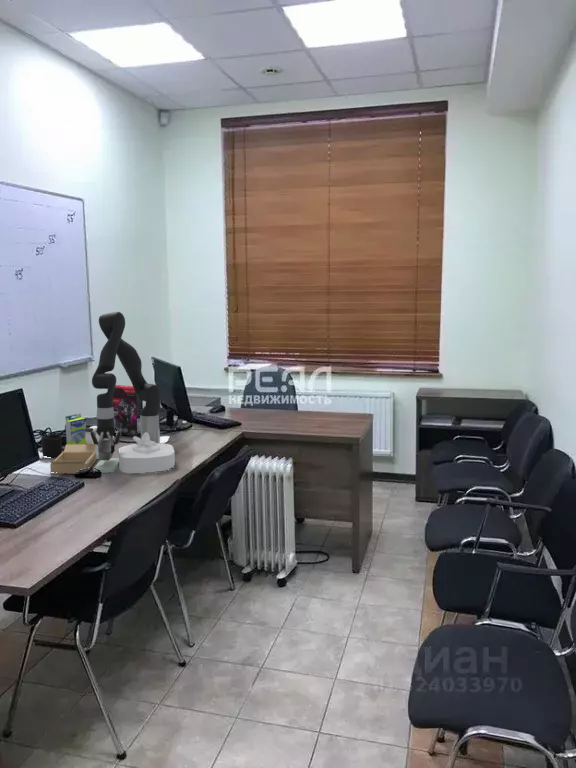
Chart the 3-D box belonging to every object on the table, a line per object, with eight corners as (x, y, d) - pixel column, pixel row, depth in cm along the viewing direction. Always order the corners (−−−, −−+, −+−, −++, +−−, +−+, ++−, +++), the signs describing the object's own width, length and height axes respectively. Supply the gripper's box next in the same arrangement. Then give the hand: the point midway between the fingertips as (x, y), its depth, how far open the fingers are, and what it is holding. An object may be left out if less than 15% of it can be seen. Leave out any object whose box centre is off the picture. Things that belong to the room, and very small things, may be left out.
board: (120, 461, 299) (120, 458, 299) (113, 472, 282) (113, 469, 282) (101, 461, 299) (101, 458, 298) (93, 472, 281) (93, 469, 281)
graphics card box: (111, 434, 352) (110, 386, 348) (119, 431, 358) (117, 384, 354) (137, 437, 346) (135, 388, 341) (144, 434, 352) (143, 386, 348)
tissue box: (119, 475, 278) (118, 440, 276) (118, 460, 302) (117, 427, 300) (176, 471, 285) (175, 436, 283) (171, 456, 309) (170, 424, 306)
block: (114, 452, 297) (114, 436, 295) (109, 460, 284) (108, 443, 282) (104, 452, 296) (104, 436, 295) (98, 460, 283) (98, 443, 282)
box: (71, 451, 316) (70, 417, 314) (65, 450, 318) (64, 416, 316) (87, 446, 325) (86, 413, 323) (82, 445, 327) (80, 412, 325)
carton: (98, 458, 303) (98, 444, 302) (84, 476, 276) (84, 460, 275) (64, 458, 302) (63, 444, 301) (47, 476, 274) (46, 460, 273)
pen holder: (60, 458, 303) (59, 438, 301) (40, 459, 301) (39, 439, 300) (64, 453, 312) (63, 433, 310) (44, 454, 310) (43, 434, 309)
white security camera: (94, 451, 316) (93, 422, 313) (113, 454, 312) (112, 424, 309) (79, 457, 305) (77, 427, 302) (98, 460, 301) (97, 429, 298)
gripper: (122, 414, 291) (123, 450, 293) (91, 415, 290) (92, 451, 292) (119, 418, 283) (120, 455, 286) (87, 418, 282) (88, 455, 285)
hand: (106, 452), depth 289 cm, fingers closed on block, 4 cm apart
